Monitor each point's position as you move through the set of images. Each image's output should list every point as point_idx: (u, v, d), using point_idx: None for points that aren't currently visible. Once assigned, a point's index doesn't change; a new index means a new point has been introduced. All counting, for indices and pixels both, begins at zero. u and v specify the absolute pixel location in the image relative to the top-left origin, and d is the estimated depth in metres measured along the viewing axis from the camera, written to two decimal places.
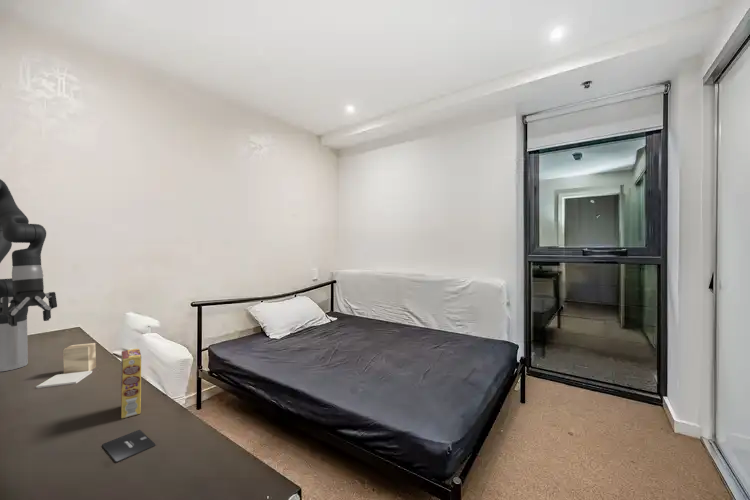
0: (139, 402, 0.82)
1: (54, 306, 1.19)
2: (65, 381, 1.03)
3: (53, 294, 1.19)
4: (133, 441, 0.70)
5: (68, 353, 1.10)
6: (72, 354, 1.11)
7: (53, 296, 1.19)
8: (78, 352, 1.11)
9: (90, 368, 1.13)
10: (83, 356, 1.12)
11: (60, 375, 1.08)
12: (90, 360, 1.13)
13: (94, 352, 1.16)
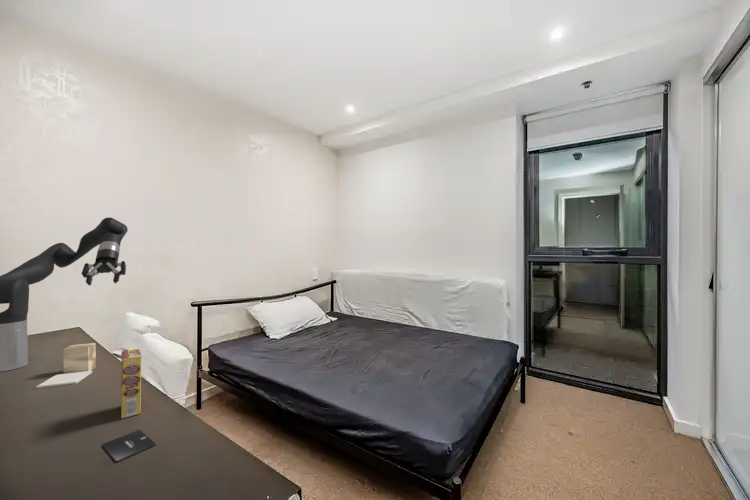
0: (139, 402, 0.82)
1: (121, 270, 1.37)
2: (65, 381, 1.03)
3: (122, 262, 1.40)
4: (133, 441, 0.70)
5: (68, 353, 1.10)
6: (72, 354, 1.11)
7: (122, 264, 1.39)
8: (78, 352, 1.11)
9: (90, 368, 1.13)
10: (83, 356, 1.12)
11: (60, 375, 1.08)
12: (90, 360, 1.13)
13: (94, 352, 1.16)
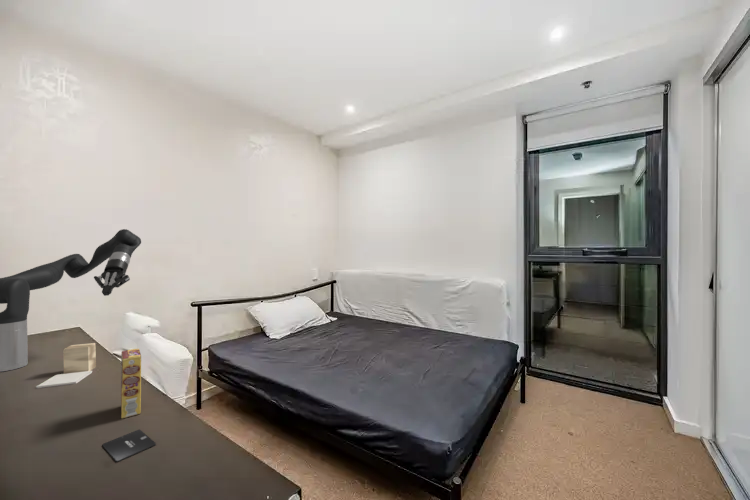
0: (139, 402, 0.82)
1: (115, 283, 1.35)
2: (65, 381, 1.03)
3: (125, 276, 1.38)
4: (133, 441, 0.70)
5: (68, 353, 1.10)
6: (72, 354, 1.11)
7: (124, 277, 1.38)
8: (78, 352, 1.11)
9: (90, 368, 1.13)
10: (83, 356, 1.12)
11: (60, 375, 1.08)
12: (90, 360, 1.13)
13: (94, 352, 1.16)
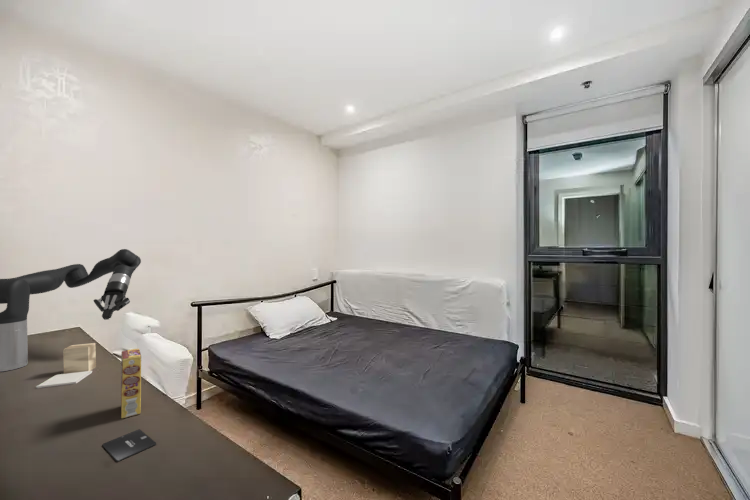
0: (139, 402, 0.82)
1: (115, 306, 1.34)
2: (65, 381, 1.03)
3: (126, 299, 1.37)
4: (133, 440, 0.70)
5: (68, 353, 1.10)
6: (72, 354, 1.11)
7: (124, 300, 1.37)
8: (78, 352, 1.11)
9: (90, 368, 1.13)
10: (83, 356, 1.12)
11: (60, 375, 1.08)
12: (90, 360, 1.13)
13: (94, 352, 1.16)
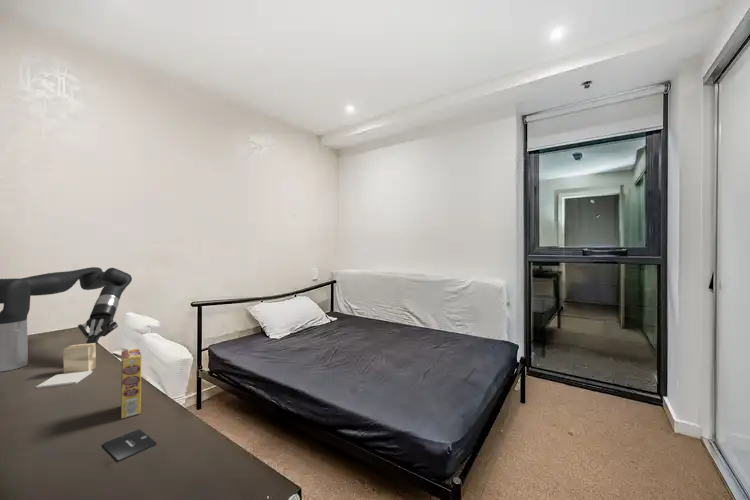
0: (139, 402, 0.82)
1: (101, 332, 1.23)
2: (65, 381, 1.03)
3: (113, 323, 1.27)
4: (134, 440, 0.70)
5: (68, 353, 1.10)
6: (72, 354, 1.11)
7: (111, 324, 1.26)
8: (78, 352, 1.11)
9: (90, 368, 1.13)
10: (83, 356, 1.12)
11: (60, 375, 1.08)
12: (90, 360, 1.13)
13: (94, 352, 1.16)
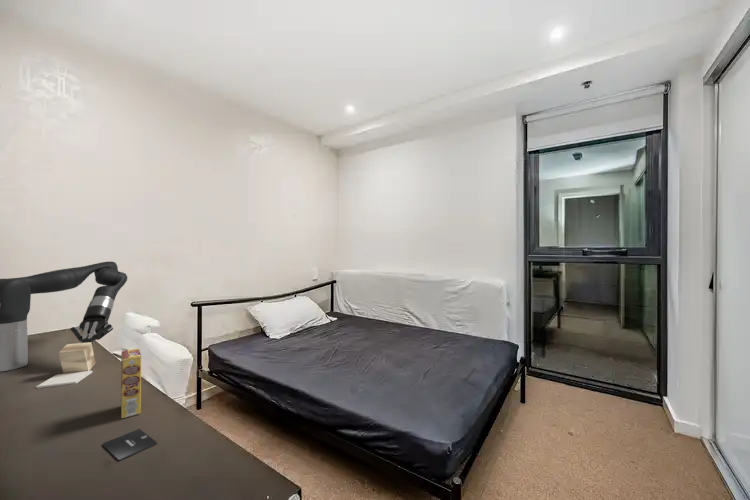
0: (139, 402, 0.82)
1: (95, 335, 1.18)
2: (65, 381, 1.03)
3: (108, 326, 1.21)
4: (134, 440, 0.70)
5: (64, 356, 1.08)
6: (69, 357, 1.09)
7: (106, 327, 1.21)
8: (75, 355, 1.09)
9: (90, 367, 1.13)
10: (80, 358, 1.10)
11: (60, 375, 1.08)
12: (88, 360, 1.12)
13: (91, 351, 1.14)
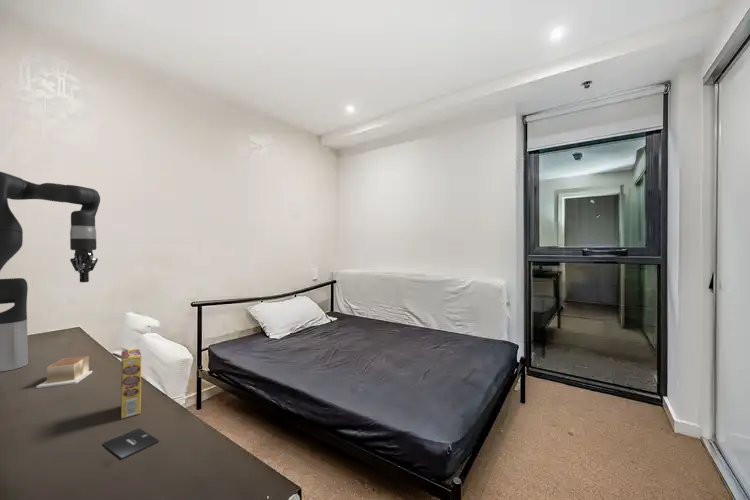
0: (139, 402, 0.82)
1: (84, 269, 1.21)
2: (65, 381, 1.03)
3: (89, 260, 1.20)
4: (135, 439, 0.71)
5: None
6: None
7: (88, 261, 1.21)
8: None
9: (87, 367, 1.12)
10: None
11: None
12: (82, 370, 1.09)
13: (79, 363, 1.07)
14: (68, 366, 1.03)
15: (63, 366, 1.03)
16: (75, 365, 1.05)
